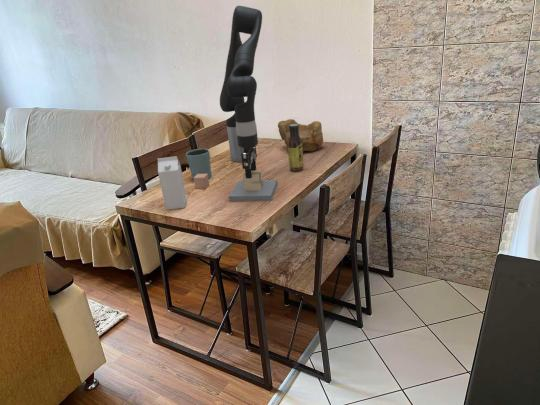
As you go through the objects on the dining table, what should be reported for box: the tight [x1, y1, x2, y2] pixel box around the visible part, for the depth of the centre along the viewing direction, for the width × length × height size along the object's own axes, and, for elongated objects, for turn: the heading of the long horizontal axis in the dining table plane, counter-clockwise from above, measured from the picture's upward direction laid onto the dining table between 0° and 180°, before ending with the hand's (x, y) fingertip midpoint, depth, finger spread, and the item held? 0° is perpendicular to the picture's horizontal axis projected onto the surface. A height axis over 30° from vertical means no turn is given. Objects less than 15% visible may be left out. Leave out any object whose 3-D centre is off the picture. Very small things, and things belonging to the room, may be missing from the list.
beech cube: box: [242, 170, 263, 191], centre depth 155 cm, size 6×6×6 cm
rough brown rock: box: [277, 118, 324, 154], centre depth 201 cm, size 23×17×15 cm
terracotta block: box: [193, 174, 210, 190], centre depth 168 cm, size 5×5×5 cm
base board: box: [228, 179, 279, 202], centre depth 157 cm, size 16×16×2 cm
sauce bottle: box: [287, 123, 304, 172], centre depth 174 cm, size 6×6×20 cm
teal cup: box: [185, 148, 212, 181], centre depth 177 cm, size 10×10×12 cm
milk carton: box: [157, 156, 188, 211], centre depth 149 cm, size 7×7×19 cm
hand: (251, 174), depth 154 cm, fingers open, 8 cm apart
